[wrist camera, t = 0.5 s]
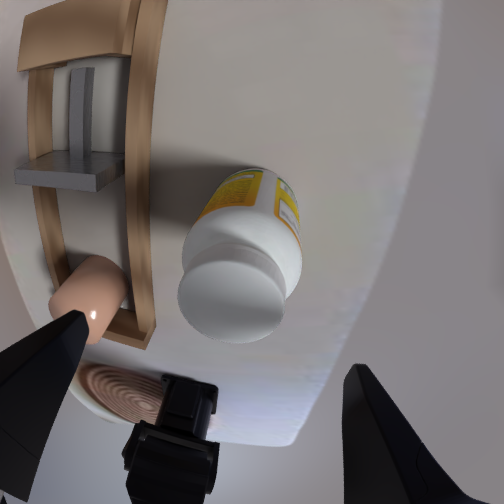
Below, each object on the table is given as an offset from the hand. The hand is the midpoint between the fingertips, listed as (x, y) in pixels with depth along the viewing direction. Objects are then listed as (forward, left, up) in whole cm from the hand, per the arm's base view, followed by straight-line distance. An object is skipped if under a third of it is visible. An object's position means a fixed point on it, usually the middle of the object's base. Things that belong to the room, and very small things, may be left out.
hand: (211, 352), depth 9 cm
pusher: (+5, +12, -12) cm, 17 cm away
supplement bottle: (0, 0, -12) cm, 12 cm away
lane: (0, +12, -12) cm, 17 cm away
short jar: (-9, +12, -12) cm, 19 cm away
